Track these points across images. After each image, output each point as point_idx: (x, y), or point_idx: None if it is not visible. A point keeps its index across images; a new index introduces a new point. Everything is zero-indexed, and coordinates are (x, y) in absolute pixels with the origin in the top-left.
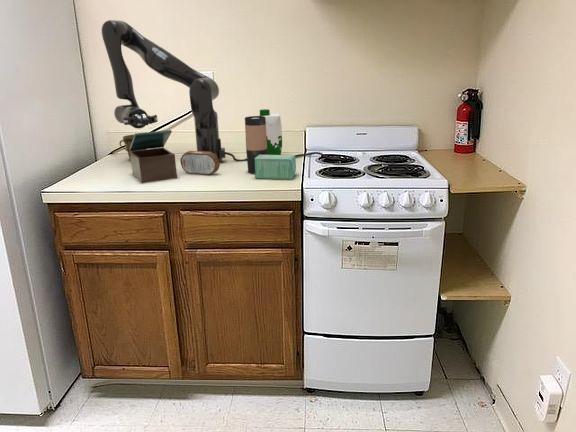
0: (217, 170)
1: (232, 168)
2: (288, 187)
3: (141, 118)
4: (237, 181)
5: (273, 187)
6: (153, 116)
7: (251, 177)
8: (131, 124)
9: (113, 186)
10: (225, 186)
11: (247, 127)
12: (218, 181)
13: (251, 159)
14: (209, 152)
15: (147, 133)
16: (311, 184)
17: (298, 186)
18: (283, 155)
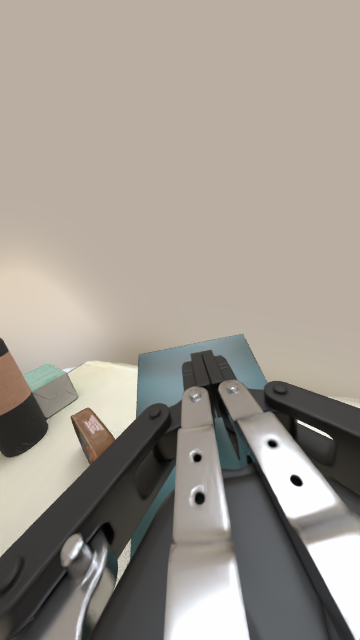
0: (81, 444)
1: (9, 501)
2: (89, 365)
3: (224, 378)
4: (103, 394)
5: (98, 367)
6: (109, 447)
7: (72, 407)
8: (330, 445)
9: (316, 428)
10: (130, 379)
11: (8, 357)
12: (121, 401)
13: (37, 406)
14: (75, 415)
15: (208, 342)
16: (67, 368)
17: (81, 366)
18: (26, 378)
